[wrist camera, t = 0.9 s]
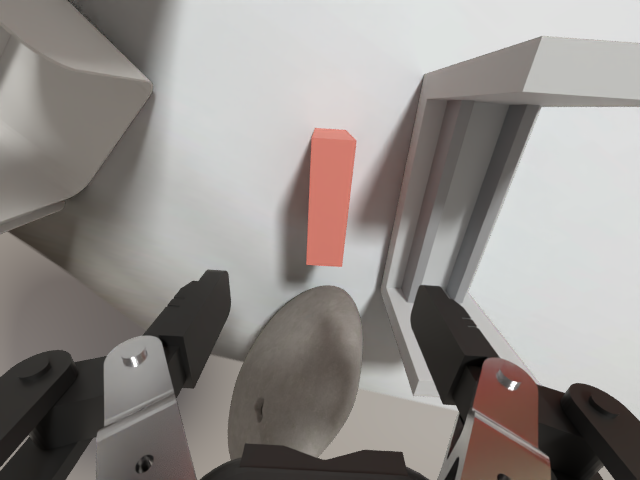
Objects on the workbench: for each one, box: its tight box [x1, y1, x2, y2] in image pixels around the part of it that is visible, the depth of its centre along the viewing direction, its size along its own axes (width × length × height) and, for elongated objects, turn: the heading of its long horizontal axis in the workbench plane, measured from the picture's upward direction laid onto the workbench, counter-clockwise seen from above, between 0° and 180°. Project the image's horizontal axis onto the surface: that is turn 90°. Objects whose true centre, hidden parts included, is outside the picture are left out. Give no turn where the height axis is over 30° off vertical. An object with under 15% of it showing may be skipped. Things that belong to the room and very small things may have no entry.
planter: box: [228, 286, 363, 460], centre depth 27 cm, size 18×7×19 cm, turn 137°
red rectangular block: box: [306, 128, 356, 267], centre depth 24 cm, size 10×3×9 cm, turn 177°
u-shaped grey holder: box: [380, 36, 640, 397], centre depth 23 cm, size 24×10×14 cm, turn 177°
